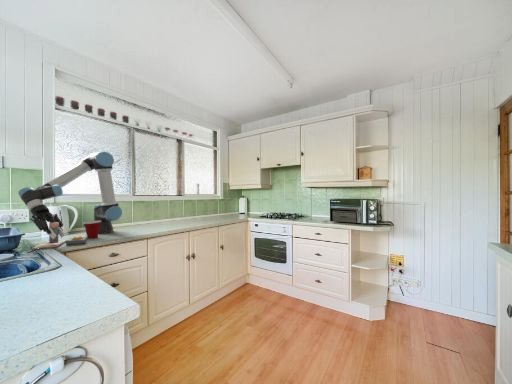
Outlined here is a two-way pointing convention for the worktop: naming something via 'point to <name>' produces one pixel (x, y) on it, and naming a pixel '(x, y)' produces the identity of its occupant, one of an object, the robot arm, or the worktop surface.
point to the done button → (77, 237)
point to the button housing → (77, 241)
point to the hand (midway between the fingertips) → (58, 236)
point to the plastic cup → (92, 228)
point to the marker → (54, 227)
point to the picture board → (49, 245)
